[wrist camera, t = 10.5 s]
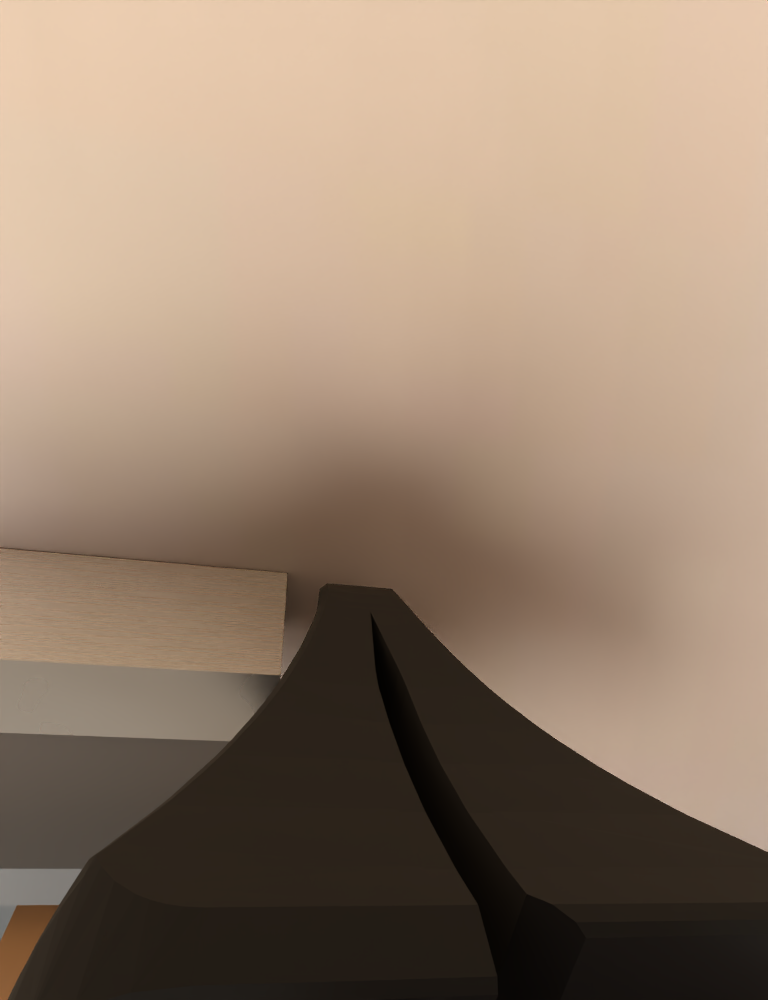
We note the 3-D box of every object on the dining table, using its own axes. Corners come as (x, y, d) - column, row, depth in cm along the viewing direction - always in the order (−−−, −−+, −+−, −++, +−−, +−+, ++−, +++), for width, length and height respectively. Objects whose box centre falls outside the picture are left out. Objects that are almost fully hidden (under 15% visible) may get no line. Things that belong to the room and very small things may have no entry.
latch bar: (287, 573, 11) (280, 676, 8) (281, 627, 11) (272, 742, 9) (-69, 542, 10) (-216, 647, 7) (-62, 603, 10) (-198, 725, 8)
